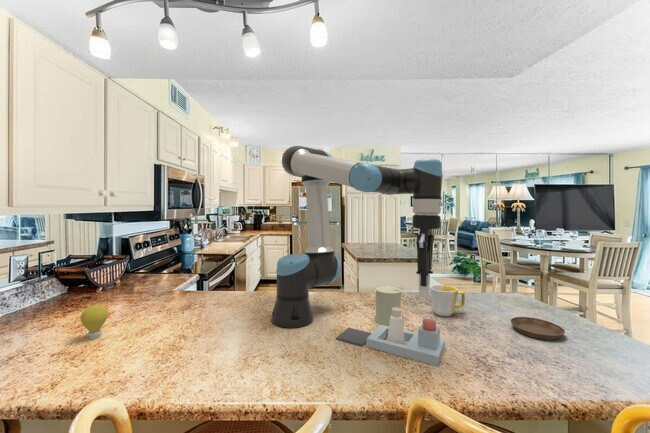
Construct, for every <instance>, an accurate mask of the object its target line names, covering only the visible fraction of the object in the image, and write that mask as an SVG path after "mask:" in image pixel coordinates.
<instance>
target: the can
mask: <svg viewBox="0 0 650 433" xmlns="http://www.w3.org/2000/svg"><path fill="white" fill-rule="evenodd" d="M401 301H402V290H401V289H400V288H398V287H394V286H387V285H385V286H383V285H382V286H378V287H376V288H375V318H374V320H375V322H376V323H378V324H379V325H384V326H389V323H390V317H391V315H392V308H394V307H397V308H400V309H401V303H402V302H401ZM401 310H402V309H401Z"/></svg>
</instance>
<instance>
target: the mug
mask: <svg viewBox="0 0 650 433" xmlns="http://www.w3.org/2000/svg"><path fill="white" fill-rule="evenodd" d="M429 293H430V297H431V306H432V311H433V312H434V313H435V314H436V315H437V316H441V317H450V316H452V315H453V314H454V313H455V310H456V309H460V308H464V306H465V302H466V296H465V295H466V294H465V292H464V291H461V290H459V289H458V287H455V286H452V285H448V284H442V283H438V284H431V285H430V290H429ZM459 294H460V295H461V302H460V304H459V305H458V304H457V305H456V303H457V298H458V295H459Z"/></svg>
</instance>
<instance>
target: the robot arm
mask: <svg viewBox="0 0 650 433" xmlns="http://www.w3.org/2000/svg"><path fill="white" fill-rule="evenodd" d="M281 165H282V168H283V169H284V172H285V173H286V174H289V175H290V176H293V177H298V178H301V185H302V186H303V187H305V199H306V200H305V201H306V219H307V220H306V223H307V237H308V238H307V240H308V242H307V243H308V247H307V249H306V250H305V251H304V253H295V254H294V253H293V254H288V255H287V254H286V255H285V256H282V257H280V258H279V259H278V260H277V264H276V269H275V270H276V300H275V303H274V307H273V309H272V311H271V323H272V325H274V326H277V327H279V328H288V329H296V328H302V327H306V326H308V325H310V324H311V323H312V322H313V321H314V312H313V309H312V305H311V302H310V298H309V296H310V294H309V292H310V289H312V288H315V287H320V286H326V285H329V284H330V283H333V282H336V280H337V279H338V278H339V277H340V275H341V272H342V269H341V268H342V266H341V260H340V259H339V256H337V255H336V254H335V250H334V249H333V247H331V238H330V237H331V236H330V222H329V221H330V219H329V218H330V217H329V203H328V202H329V200H328V186H329V185H330V183H334V184H335V183H336V184H338V185H342V186H347V187H351V188H353V189H354V190H356V191H357V192H358V191H359V192H363V193H378V194H379V193H380V194H382V195H389V196H392V195H406V194H407V195H408V194H409V195H412V196H413V198H412V199H413V200H412V213H413V214H414V215H412V228H414V229H419V234H417V238H416V241H415V243H416V251H417V252H416V253H417V254H416V255H417V256H416V260H417V264H416V265H417V270H416V272H415V273H416V274H417V275H418V297H419V298H426V299H429V298H430V286H431V285H430V283H431V281H430V280H431V275H432V274H433V273H434V271H432V267H433V266H432V264H433V250H434V241H435V235H434V234H433V230H439V229H440V228H441V216H440V215H439V214H441V210H442V209H441V208H442V207H443V206H444V203H443V202H442V188H443V186H442V184H443V163H442V161H441V160H440V159H436V158H420V159H417V160H415V161H414V163H413V167H412V168H399V169H398V168H392V167H387V166H380V165H376V164H373V163H367V162H359V161H355V160H349V159H343V158H337V157H333V155H332V154H331V153H330V152H328V151H325V150H323V149H316V148H312V147H306V146H304V145H293V146H290V147H289V148H287V149H286V150H285V151H284V152H283V154H282V156H281Z"/></svg>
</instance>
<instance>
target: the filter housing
mask: <svg viewBox="0 0 650 433" xmlns="http://www.w3.org/2000/svg"><path fill="white" fill-rule="evenodd" d="M388 331H389V326H388V325H382V324H379V325H378V326H377V328H376V329H374V331H372V332H371V333H372V334H371V335H370V336H369V337H368V338H367V343H366V348H368V349H369V348H370V349H374V350H377V351H381V352H384V353H388V354H392V355H395V356H398V357H399V356H400V357H403V358H407V359H411V360H414V361H418V362H422V363H426V364H429V365H432V366H437V367H439V365H440V362H441V359H442V356H443V354H444V351H445V348H446V339H445V338H442V337H441V327H439V326H436V330H435V331H427V330H424V329H423V323H421V325H420V326H419V327H418V329H417V332H414V331H410V330H406V329H404V342H405V341H406V342H408V343H407V344H405V345H402V344H398V343H394V342H390V341H387V340H386V339H385V338H386V337H388Z"/></svg>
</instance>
